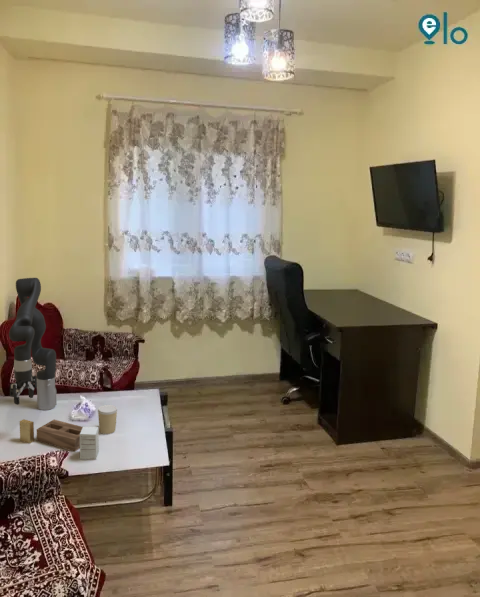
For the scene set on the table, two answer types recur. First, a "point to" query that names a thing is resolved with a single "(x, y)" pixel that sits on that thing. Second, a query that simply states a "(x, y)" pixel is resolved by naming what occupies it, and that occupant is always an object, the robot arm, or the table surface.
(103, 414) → the coffee cup
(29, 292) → the robot arm
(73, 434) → the two-slot wooden tray
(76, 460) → the table surface
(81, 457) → the miniature drawer cabinet
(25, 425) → the yellow tan block
